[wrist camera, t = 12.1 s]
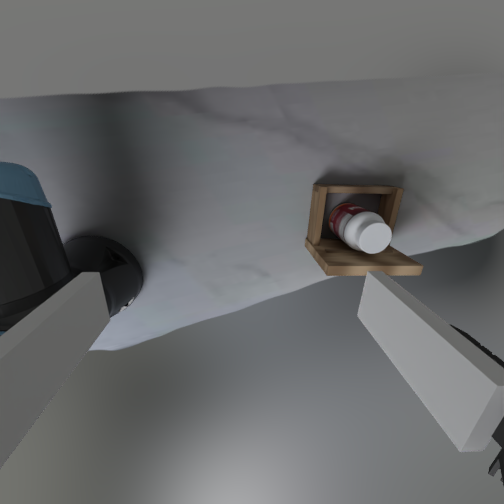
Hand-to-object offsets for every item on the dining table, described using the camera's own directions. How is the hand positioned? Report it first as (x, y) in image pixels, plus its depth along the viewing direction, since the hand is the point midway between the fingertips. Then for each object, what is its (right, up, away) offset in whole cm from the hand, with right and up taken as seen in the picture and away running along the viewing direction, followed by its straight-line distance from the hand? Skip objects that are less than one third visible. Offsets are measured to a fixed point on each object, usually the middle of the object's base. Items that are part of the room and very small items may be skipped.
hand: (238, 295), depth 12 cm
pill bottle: (+17, +8, +32) cm, 38 cm away
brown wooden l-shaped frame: (+18, +8, +32) cm, 37 cm away
